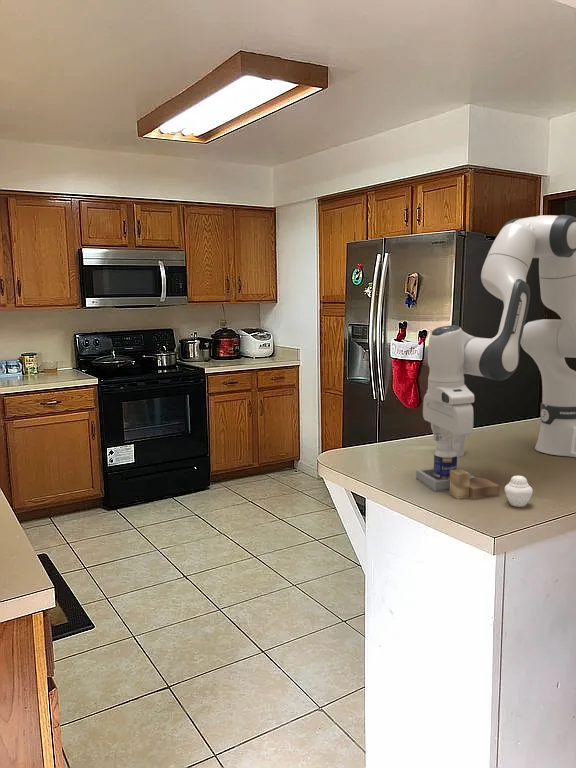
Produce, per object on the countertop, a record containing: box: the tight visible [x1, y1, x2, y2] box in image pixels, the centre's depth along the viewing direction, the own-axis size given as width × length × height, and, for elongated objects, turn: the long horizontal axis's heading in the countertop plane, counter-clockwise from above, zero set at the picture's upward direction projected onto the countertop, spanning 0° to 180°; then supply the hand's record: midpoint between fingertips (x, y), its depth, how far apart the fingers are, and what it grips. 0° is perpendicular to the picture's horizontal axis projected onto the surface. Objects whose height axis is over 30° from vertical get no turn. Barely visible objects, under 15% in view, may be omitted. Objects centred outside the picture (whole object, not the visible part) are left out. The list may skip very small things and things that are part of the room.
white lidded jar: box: [504, 474, 534, 508], centre depth 148 cm, size 6×6×7 cm
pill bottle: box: [433, 441, 458, 481], centre depth 165 cm, size 6×6×10 cm
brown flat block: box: [468, 477, 500, 501], centre depth 156 cm, size 7×7×3 cm
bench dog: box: [449, 468, 471, 500], centre depth 155 cm, size 3×4×6 cm
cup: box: [435, 427, 466, 458], centre depth 192 cm, size 8×8×12 cm
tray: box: [415, 467, 477, 493], centre depth 165 cm, size 11×11×2 cm
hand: (446, 444), depth 164 cm, fingers open, 8 cm apart
